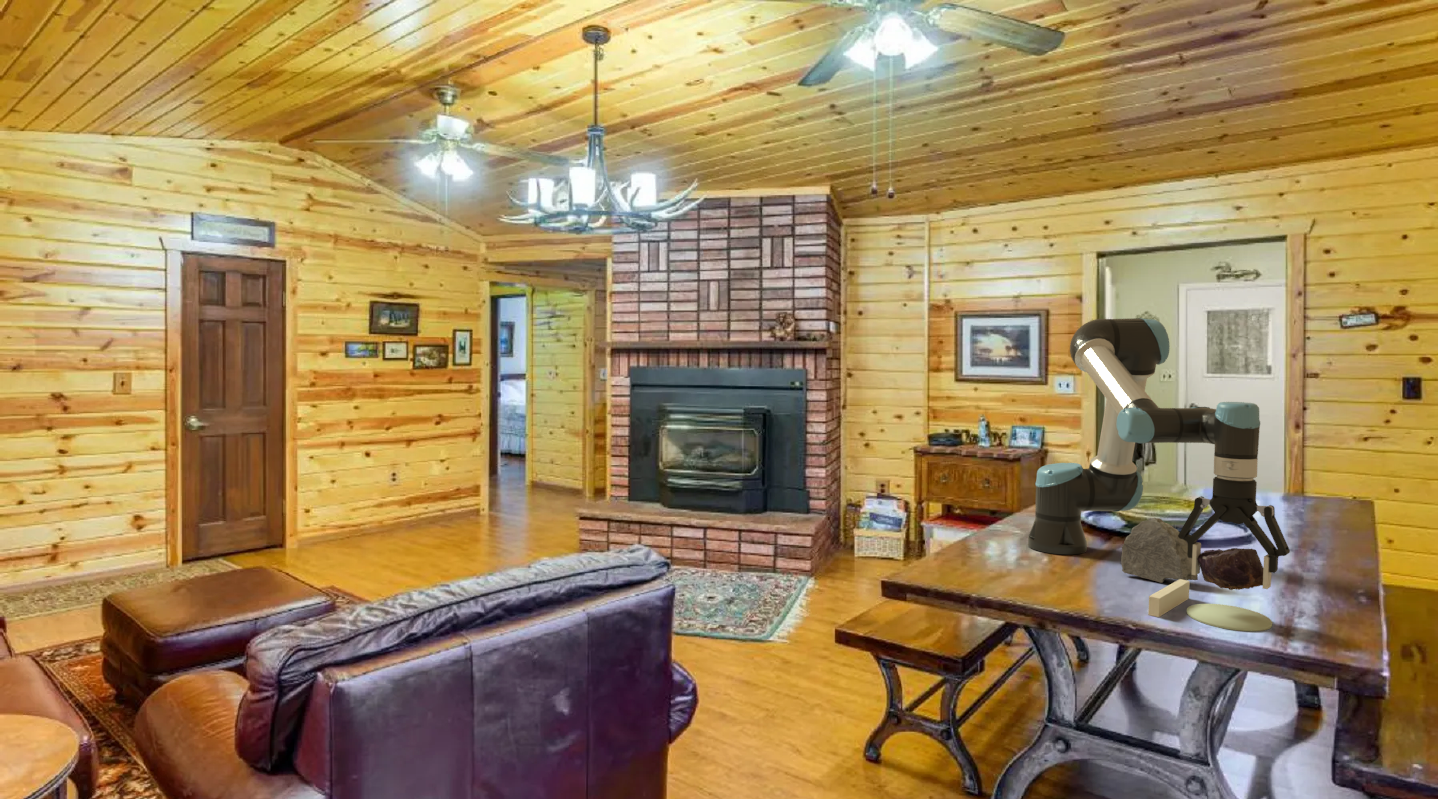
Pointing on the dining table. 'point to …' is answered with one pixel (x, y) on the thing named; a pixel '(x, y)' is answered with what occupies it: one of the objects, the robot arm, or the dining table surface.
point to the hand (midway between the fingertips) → (1230, 580)
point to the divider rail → (1168, 598)
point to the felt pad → (1229, 617)
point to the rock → (1232, 568)
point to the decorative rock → (1156, 552)
